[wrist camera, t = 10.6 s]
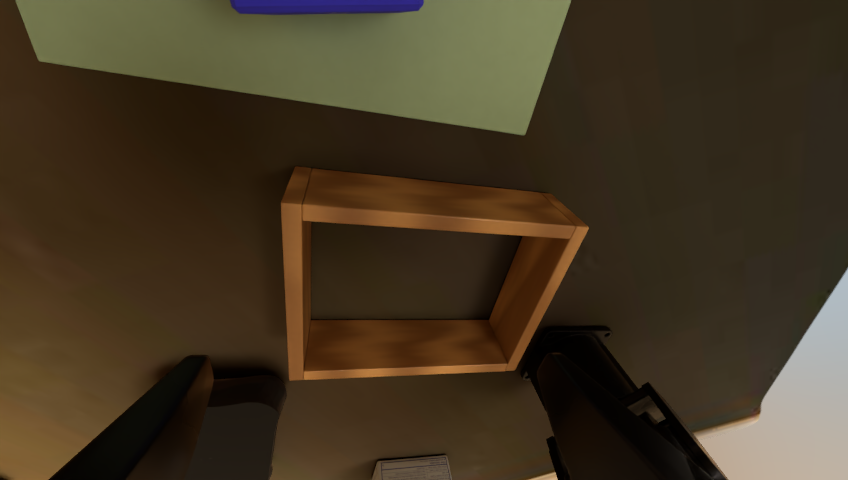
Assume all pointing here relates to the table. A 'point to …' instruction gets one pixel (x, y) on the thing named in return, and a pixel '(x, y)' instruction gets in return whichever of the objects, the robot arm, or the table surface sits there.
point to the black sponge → (238, 430)
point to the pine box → (436, 210)
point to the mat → (322, 53)
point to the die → (324, 6)
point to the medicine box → (413, 469)
